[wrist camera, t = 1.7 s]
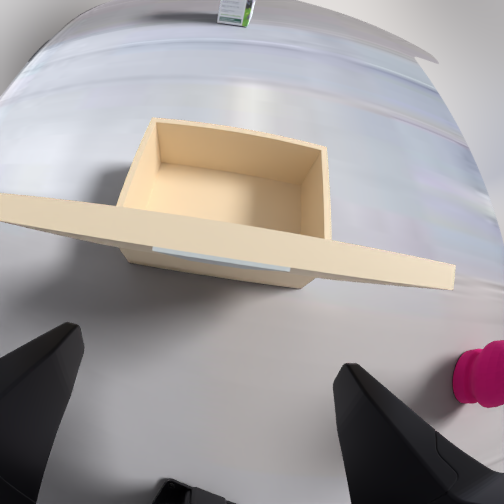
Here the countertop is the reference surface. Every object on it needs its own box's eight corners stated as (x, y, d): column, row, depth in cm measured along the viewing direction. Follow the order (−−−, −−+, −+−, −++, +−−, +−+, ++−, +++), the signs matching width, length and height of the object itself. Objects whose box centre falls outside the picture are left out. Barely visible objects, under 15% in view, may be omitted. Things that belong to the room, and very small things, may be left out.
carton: (300, 288, 23) (331, 265, 17) (129, 262, 21) (107, 231, 16) (303, 186, 27) (326, 147, 21) (158, 163, 25) (152, 117, 19)
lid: (334, 267, 17) (332, 281, 17) (104, 231, 16) (102, 246, 16) (455, 265, 7) (452, 293, 7) (-5, 192, 6) (-11, 222, 6)
